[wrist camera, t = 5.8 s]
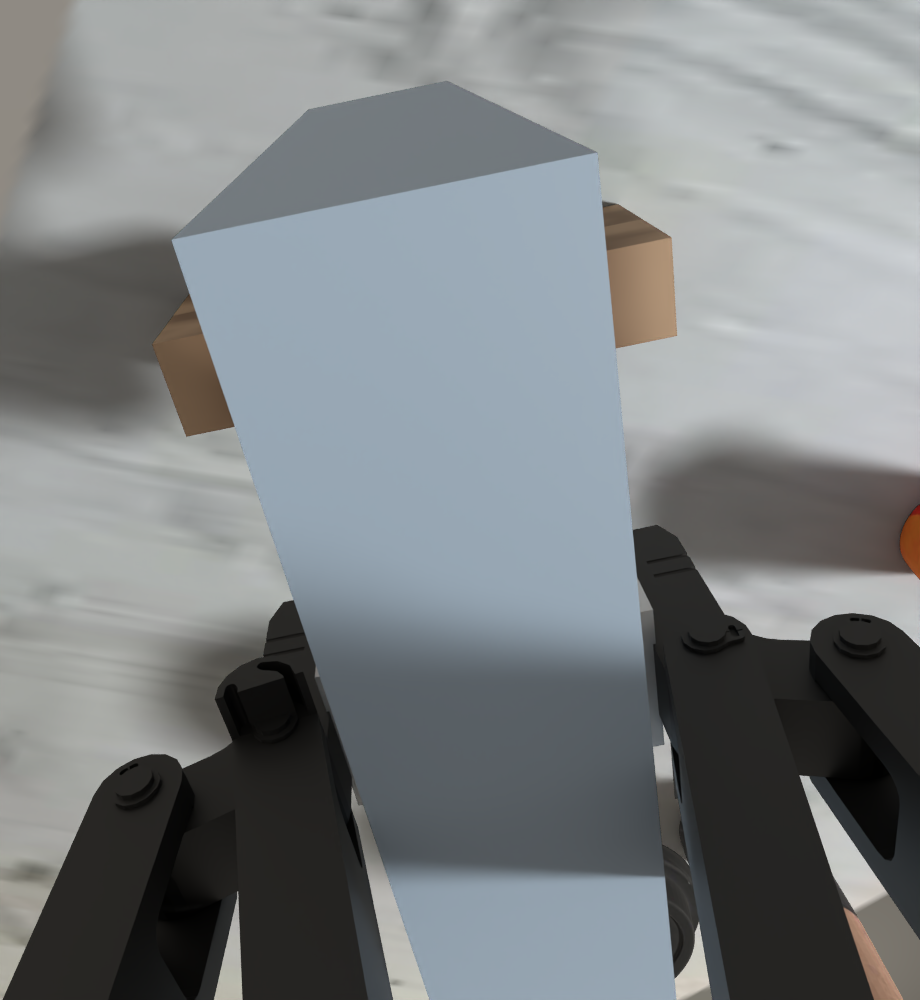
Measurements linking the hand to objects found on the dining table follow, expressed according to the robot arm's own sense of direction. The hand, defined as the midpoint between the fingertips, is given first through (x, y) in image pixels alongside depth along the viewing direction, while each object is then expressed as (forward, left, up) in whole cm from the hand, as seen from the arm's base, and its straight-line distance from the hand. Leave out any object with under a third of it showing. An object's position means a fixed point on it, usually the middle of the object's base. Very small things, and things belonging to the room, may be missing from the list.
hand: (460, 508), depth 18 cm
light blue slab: (0, 0, -7) cm, 7 cm away
